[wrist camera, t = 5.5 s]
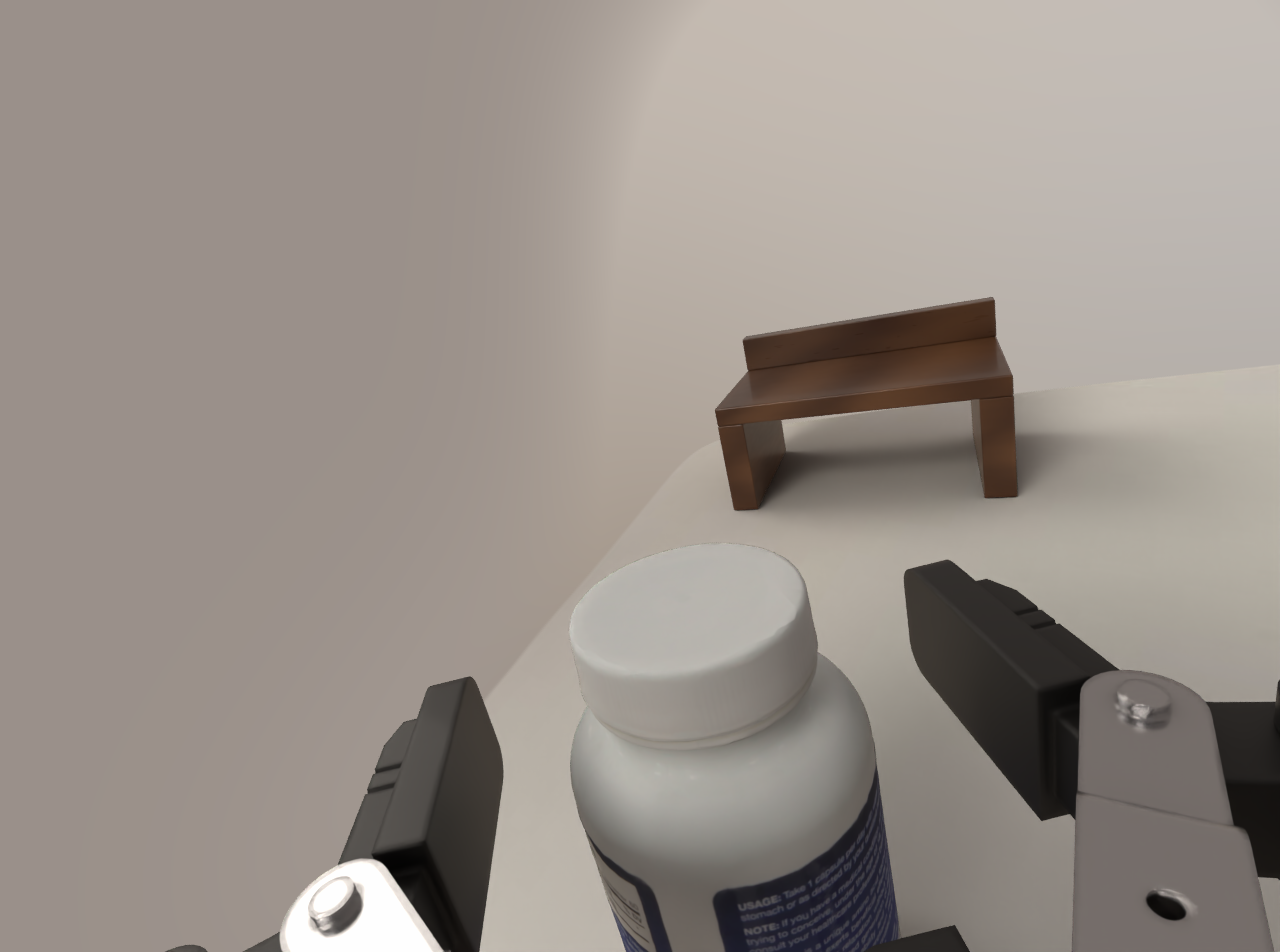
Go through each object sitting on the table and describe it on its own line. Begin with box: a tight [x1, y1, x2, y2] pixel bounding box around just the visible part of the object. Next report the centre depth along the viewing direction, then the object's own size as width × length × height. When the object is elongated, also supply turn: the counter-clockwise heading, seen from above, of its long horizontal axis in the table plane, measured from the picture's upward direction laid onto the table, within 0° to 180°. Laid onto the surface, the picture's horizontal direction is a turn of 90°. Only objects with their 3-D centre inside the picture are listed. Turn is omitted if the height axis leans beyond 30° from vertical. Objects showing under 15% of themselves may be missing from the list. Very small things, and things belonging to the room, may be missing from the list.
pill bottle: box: [569, 543, 901, 952], centre depth 13 cm, size 5×5×10 cm
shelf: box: [715, 297, 1017, 510], centre depth 37 cm, size 14×9×8 cm, turn 69°
